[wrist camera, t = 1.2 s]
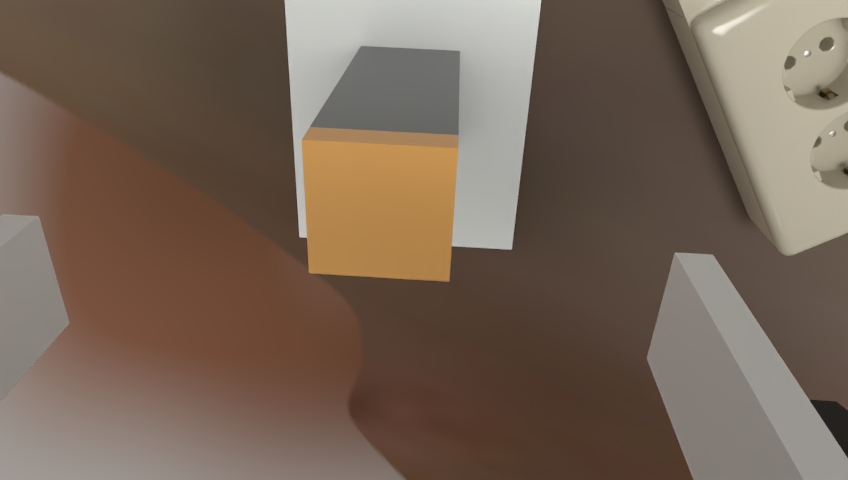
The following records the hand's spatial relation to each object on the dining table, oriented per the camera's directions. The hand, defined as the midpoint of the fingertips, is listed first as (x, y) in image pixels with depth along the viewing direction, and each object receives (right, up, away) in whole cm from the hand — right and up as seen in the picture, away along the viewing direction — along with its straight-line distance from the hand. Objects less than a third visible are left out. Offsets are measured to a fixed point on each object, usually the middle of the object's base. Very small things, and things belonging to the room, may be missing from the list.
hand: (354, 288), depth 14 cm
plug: (+1, +7, +13) cm, 15 cm away
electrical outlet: (+15, +11, +12) cm, 22 cm away
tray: (+1, +7, +14) cm, 16 cm away
